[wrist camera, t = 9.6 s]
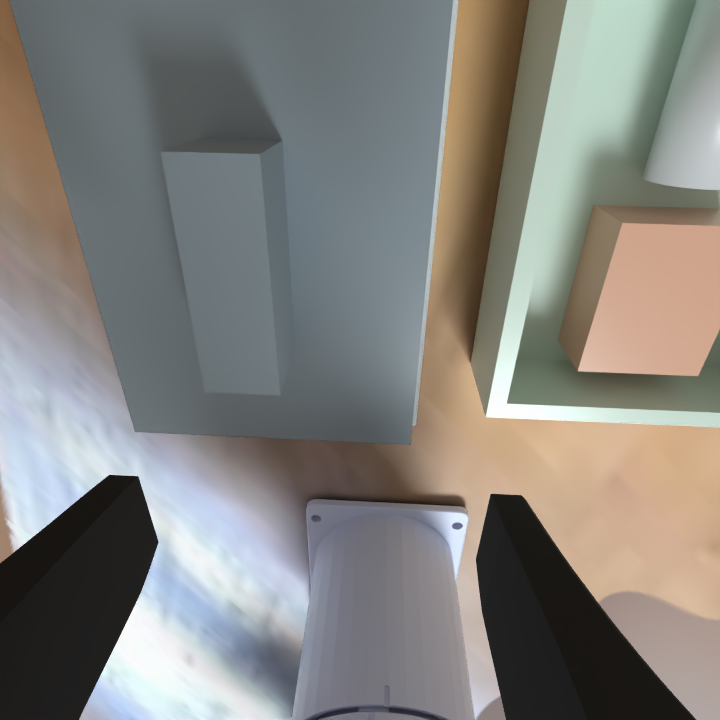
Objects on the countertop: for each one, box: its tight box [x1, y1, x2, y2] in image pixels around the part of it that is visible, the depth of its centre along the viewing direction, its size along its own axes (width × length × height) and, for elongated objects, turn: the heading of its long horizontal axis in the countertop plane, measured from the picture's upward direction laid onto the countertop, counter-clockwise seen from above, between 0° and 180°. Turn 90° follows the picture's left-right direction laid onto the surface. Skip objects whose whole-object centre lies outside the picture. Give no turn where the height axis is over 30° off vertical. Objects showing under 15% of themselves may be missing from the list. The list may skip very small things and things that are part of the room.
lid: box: [9, 0, 453, 445], centre depth 15 cm, size 15×11×4 cm
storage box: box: [471, 0, 720, 427], centre depth 14 cm, size 14×10×4 cm
